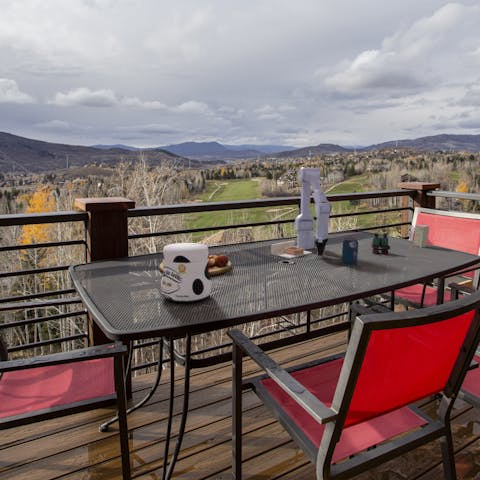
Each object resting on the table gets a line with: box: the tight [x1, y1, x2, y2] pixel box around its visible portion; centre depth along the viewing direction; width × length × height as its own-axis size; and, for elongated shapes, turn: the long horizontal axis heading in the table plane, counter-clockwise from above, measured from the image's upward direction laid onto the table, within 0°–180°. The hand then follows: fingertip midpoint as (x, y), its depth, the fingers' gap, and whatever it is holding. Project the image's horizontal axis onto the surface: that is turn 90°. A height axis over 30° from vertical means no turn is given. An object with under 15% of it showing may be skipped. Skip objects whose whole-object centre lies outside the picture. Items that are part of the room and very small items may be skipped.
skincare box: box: [413, 224, 430, 248], centre depth 231 cm, size 6×4×12 cm
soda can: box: [341, 237, 359, 266], centre depth 189 cm, size 7×7×12 cm
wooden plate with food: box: [158, 254, 232, 277], centre depth 180 cm, size 32×32×8 cm
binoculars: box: [371, 232, 391, 256], centre depth 212 cm, size 9×11×10 cm
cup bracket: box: [270, 240, 313, 259], centre depth 209 cm, size 18×12×5 cm
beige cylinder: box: [316, 244, 327, 260], centre depth 201 cm, size 4×4×7 cm
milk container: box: [160, 242, 212, 303], centre depth 139 cm, size 17×17×18 cm
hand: (321, 254), depth 201 cm, fingers open, 6 cm apart
